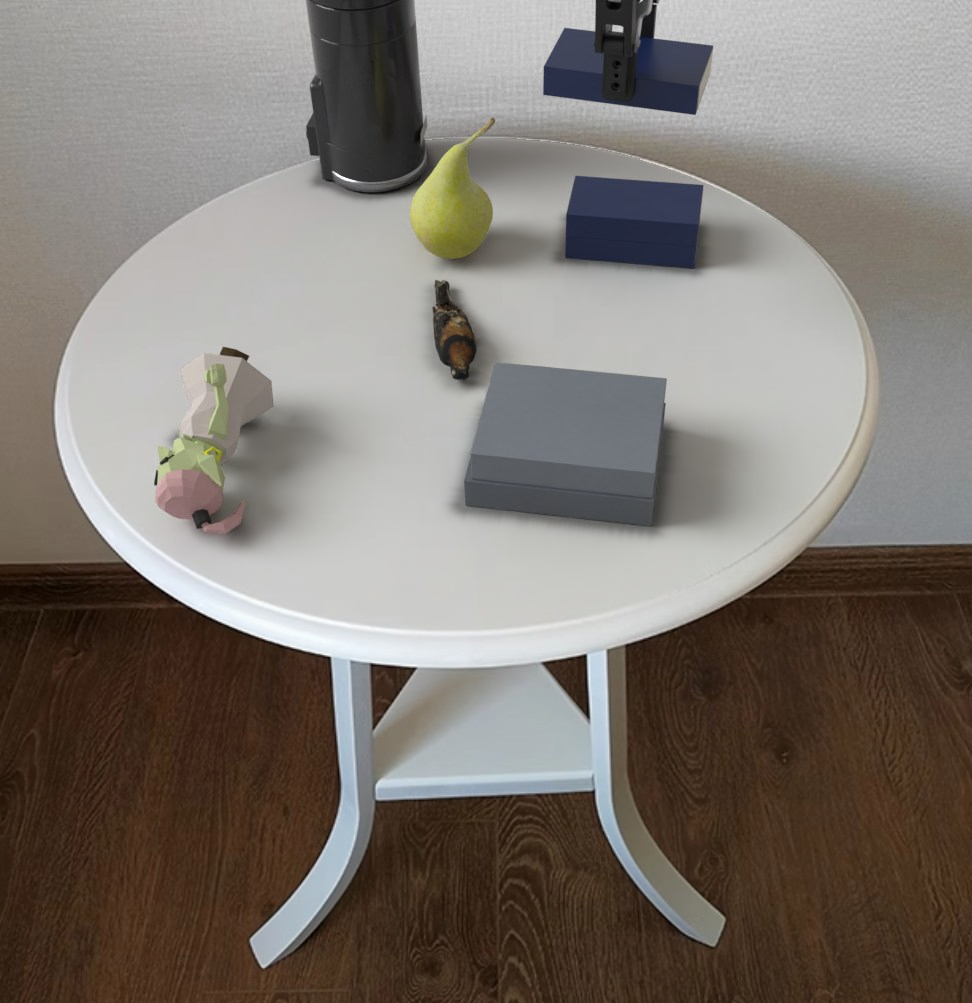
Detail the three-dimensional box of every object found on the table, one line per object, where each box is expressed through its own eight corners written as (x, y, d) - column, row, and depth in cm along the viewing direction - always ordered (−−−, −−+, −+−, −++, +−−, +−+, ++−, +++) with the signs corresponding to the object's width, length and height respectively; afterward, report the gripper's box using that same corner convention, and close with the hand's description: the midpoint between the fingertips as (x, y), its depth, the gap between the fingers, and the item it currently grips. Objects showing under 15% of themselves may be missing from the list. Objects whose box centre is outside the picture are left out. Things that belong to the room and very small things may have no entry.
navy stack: (694, 268, 105) (699, 224, 102) (564, 258, 107) (565, 214, 104) (698, 228, 109) (703, 184, 106) (573, 218, 111) (575, 175, 108)
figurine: (205, 308, 88) (144, 466, 79) (302, 349, 91) (254, 508, 81) (174, 381, 95) (114, 536, 85) (265, 418, 97) (217, 573, 87)
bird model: (440, 395, 95) (437, 368, 93) (428, 289, 104) (426, 263, 102) (481, 391, 95) (480, 365, 93) (466, 286, 105) (465, 259, 103)
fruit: (405, 236, 110) (394, 111, 101) (486, 220, 111) (482, 96, 102) (425, 279, 105) (415, 153, 97) (509, 262, 107) (507, 136, 98)
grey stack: (465, 505, 87) (462, 454, 83) (490, 410, 94) (488, 359, 90) (651, 526, 85) (656, 475, 82) (663, 427, 92) (668, 376, 88)
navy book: (695, 115, 87) (699, 86, 85) (542, 95, 89) (543, 66, 87) (710, 73, 91) (713, 45, 89) (563, 55, 93) (564, 27, 91)
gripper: (611, -219, 83) (599, 24, 95) (557, -140, 73) (552, 119, 86) (723, -211, 81) (697, 36, 93) (683, -128, 72) (659, 134, 84)
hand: (627, 75), depth 89 cm, fingers closed on navy book, 6 cm apart
